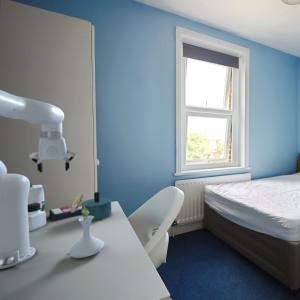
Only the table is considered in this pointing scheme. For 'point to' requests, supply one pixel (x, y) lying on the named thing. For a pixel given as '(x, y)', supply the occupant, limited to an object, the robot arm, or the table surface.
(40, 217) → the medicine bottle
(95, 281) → the table surface
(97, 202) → the lid
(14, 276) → the table surface
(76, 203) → the flower in vase
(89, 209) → the tin
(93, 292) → the table surface
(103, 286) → the table surface
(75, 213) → the calculator
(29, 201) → the milk carton
